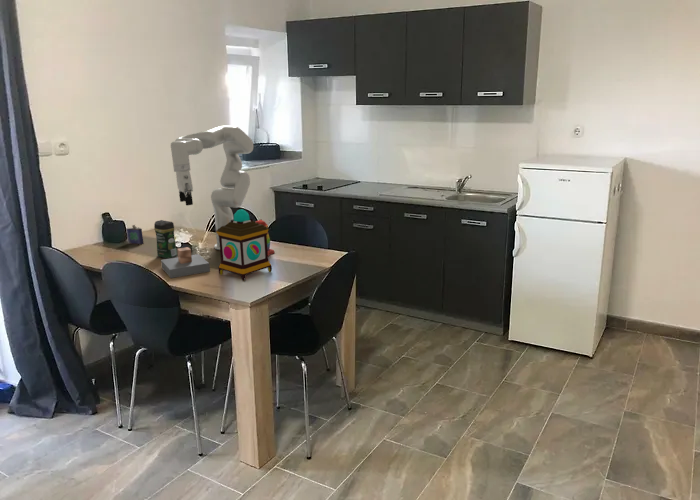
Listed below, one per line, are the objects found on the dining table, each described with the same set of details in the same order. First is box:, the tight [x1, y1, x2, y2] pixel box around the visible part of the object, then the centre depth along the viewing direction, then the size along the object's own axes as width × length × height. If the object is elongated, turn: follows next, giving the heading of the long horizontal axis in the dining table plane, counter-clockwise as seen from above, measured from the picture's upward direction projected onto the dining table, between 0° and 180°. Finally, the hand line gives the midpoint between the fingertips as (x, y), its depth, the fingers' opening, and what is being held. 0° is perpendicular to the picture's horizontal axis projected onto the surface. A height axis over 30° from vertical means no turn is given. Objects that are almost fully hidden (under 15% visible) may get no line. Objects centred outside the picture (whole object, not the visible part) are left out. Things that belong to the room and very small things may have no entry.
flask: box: [125, 224, 144, 246], centre depth 320 cm, size 9×3×11 cm, turn 76°
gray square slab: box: [160, 253, 211, 279], centre depth 273 cm, size 18×18×4 cm
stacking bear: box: [255, 219, 276, 258], centre depth 293 cm, size 11×10×18 cm
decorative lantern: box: [215, 208, 273, 282], centre depth 262 cm, size 20×20×30 cm
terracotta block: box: [176, 246, 192, 264], centre depth 272 cm, size 5×5×6 cm
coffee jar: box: [153, 219, 178, 259], centre depth 293 cm, size 10×8×19 cm
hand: (186, 203), depth 278 cm, fingers open, 9 cm apart
